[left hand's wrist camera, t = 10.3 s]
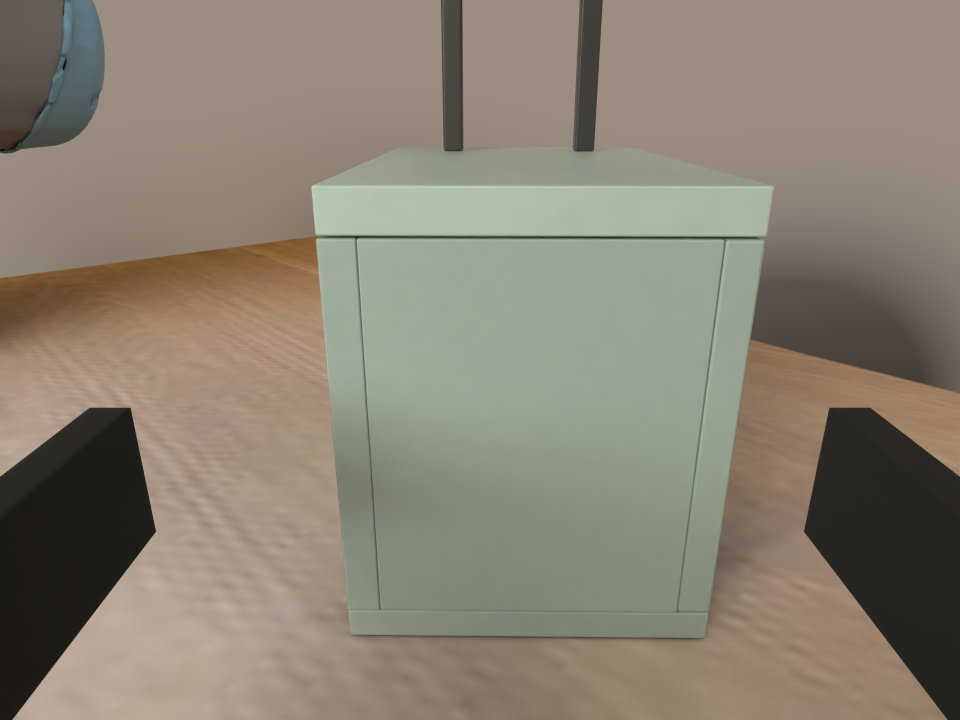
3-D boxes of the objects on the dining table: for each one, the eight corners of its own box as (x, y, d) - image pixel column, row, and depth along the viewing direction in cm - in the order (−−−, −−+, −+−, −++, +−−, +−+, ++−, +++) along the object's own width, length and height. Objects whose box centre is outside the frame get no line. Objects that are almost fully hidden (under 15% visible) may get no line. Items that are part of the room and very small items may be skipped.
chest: (406, 420, 30) (396, 177, 26) (617, 421, 30) (636, 177, 26) (349, 635, 18) (315, 239, 14) (706, 639, 18) (767, 239, 14)
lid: (399, 174, 27) (389, -83, 24) (631, 174, 27) (651, -84, 24) (315, 236, 14) (267, -316, 11) (767, 237, 14) (853, -320, 11)
